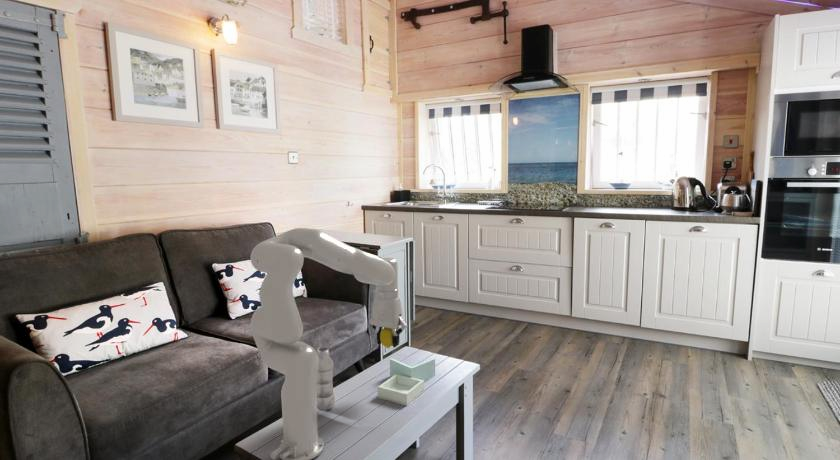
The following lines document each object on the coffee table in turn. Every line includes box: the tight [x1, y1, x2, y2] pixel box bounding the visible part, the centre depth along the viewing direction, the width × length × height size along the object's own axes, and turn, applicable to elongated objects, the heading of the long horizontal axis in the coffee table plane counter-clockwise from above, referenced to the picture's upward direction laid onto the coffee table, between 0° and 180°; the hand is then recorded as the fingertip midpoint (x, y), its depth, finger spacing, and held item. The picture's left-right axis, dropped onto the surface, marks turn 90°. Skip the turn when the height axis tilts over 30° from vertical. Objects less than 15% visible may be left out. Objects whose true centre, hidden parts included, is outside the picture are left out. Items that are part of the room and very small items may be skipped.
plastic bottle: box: [316, 347, 336, 411], centre depth 147 cm, size 6×7×20 cm
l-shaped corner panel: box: [389, 358, 436, 382], centre depth 170 cm, size 12×12×8 cm
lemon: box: [380, 327, 394, 349], centre depth 157 cm, size 6×6×8 cm
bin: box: [377, 374, 425, 407], centre depth 157 cm, size 12×12×4 cm
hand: (388, 344), depth 157 cm, fingers closed on lemon, 5 cm apart
